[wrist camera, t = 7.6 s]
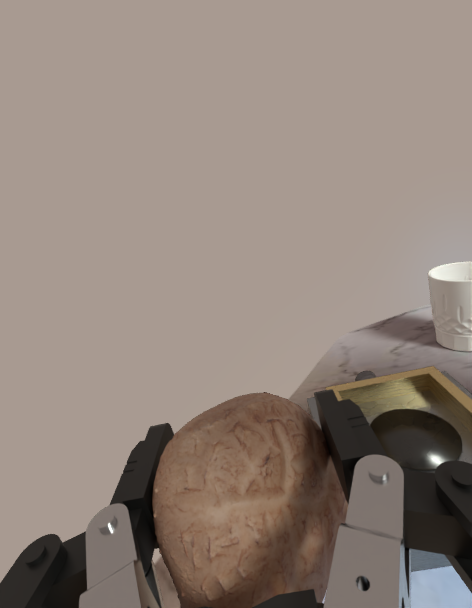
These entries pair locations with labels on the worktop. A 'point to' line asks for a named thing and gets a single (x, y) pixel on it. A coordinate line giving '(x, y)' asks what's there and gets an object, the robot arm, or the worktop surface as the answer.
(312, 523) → the mushroom
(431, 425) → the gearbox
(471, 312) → the white cup
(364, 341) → the worktop surface
